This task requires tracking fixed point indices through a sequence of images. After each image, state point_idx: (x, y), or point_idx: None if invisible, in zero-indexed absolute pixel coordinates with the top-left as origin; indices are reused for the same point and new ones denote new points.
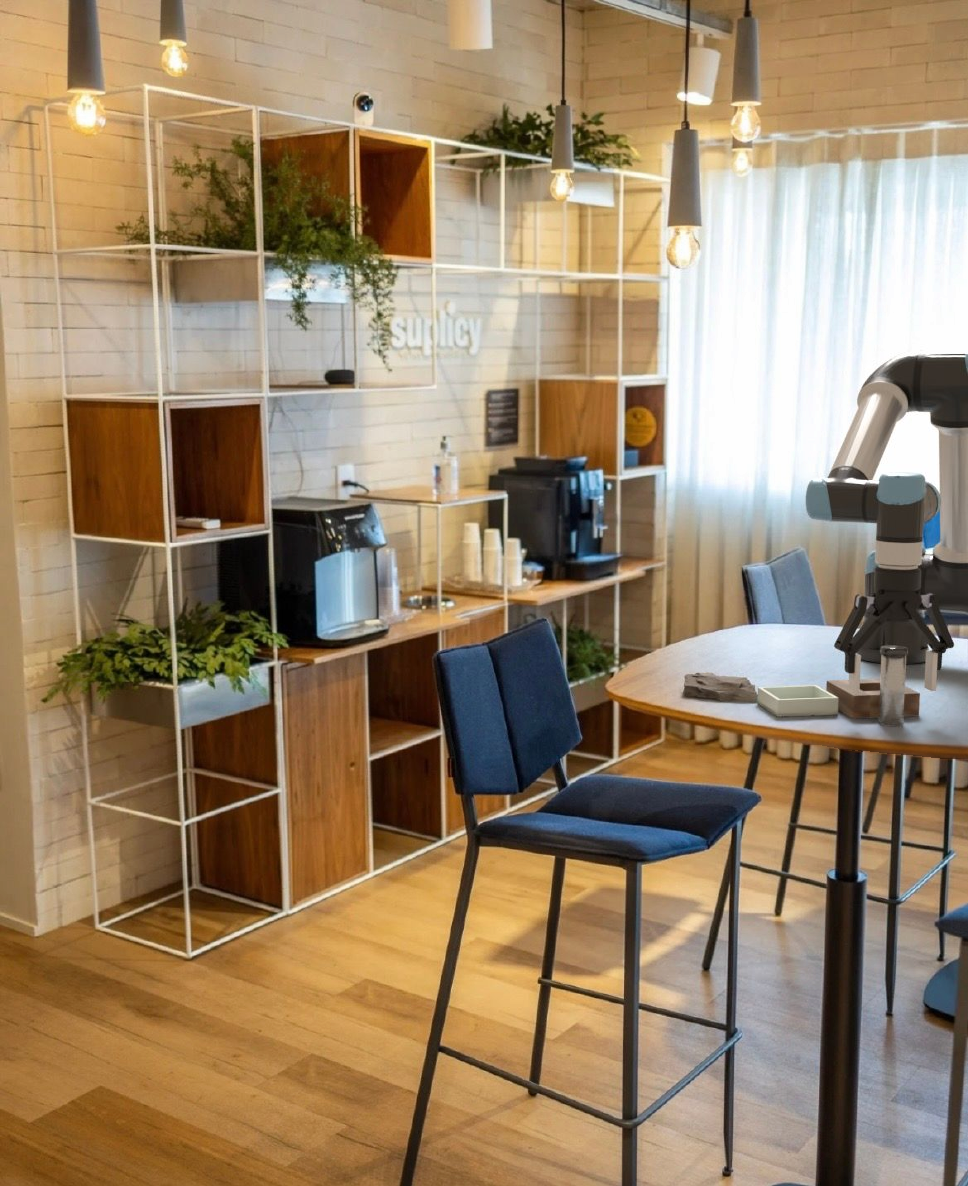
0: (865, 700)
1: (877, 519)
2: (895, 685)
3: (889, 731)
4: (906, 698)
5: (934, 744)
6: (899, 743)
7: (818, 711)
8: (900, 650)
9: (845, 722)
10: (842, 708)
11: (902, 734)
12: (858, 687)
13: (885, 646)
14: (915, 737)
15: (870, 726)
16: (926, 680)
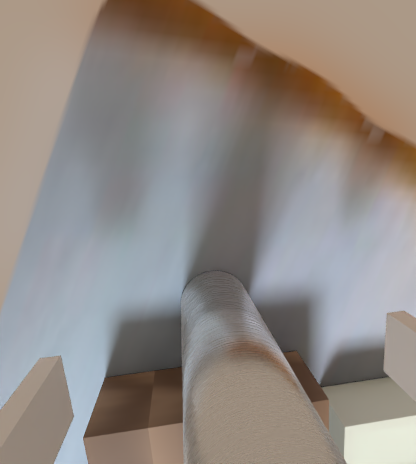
0: None
1: None
2: (247, 340)
3: (251, 215)
4: (138, 415)
5: (172, 45)
6: (277, 72)
7: (376, 387)
8: None
9: (330, 314)
10: None
11: (227, 178)
12: (412, 325)
13: None
14: (201, 140)
15: (282, 271)
16: (54, 435)
